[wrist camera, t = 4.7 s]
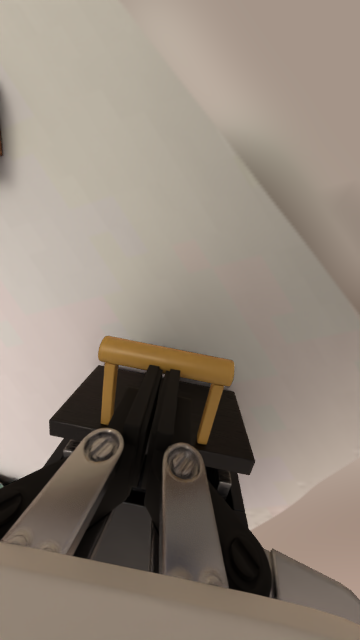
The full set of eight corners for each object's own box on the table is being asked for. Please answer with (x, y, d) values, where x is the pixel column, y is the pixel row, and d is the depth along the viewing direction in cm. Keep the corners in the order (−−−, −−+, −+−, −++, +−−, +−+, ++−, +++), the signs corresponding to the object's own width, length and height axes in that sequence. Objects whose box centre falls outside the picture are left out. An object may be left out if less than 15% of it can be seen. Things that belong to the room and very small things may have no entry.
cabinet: (94, 395, 20) (30, 483, 12) (227, 421, 20) (249, 528, 12) (89, 496, 24) (40, 606, 17) (195, 518, 24) (196, 638, 17)
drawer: (101, 303, 16) (45, 331, 10) (253, 333, 16) (290, 379, 10) (91, 475, 22) (53, 557, 16) (199, 497, 22) (202, 588, 16)
